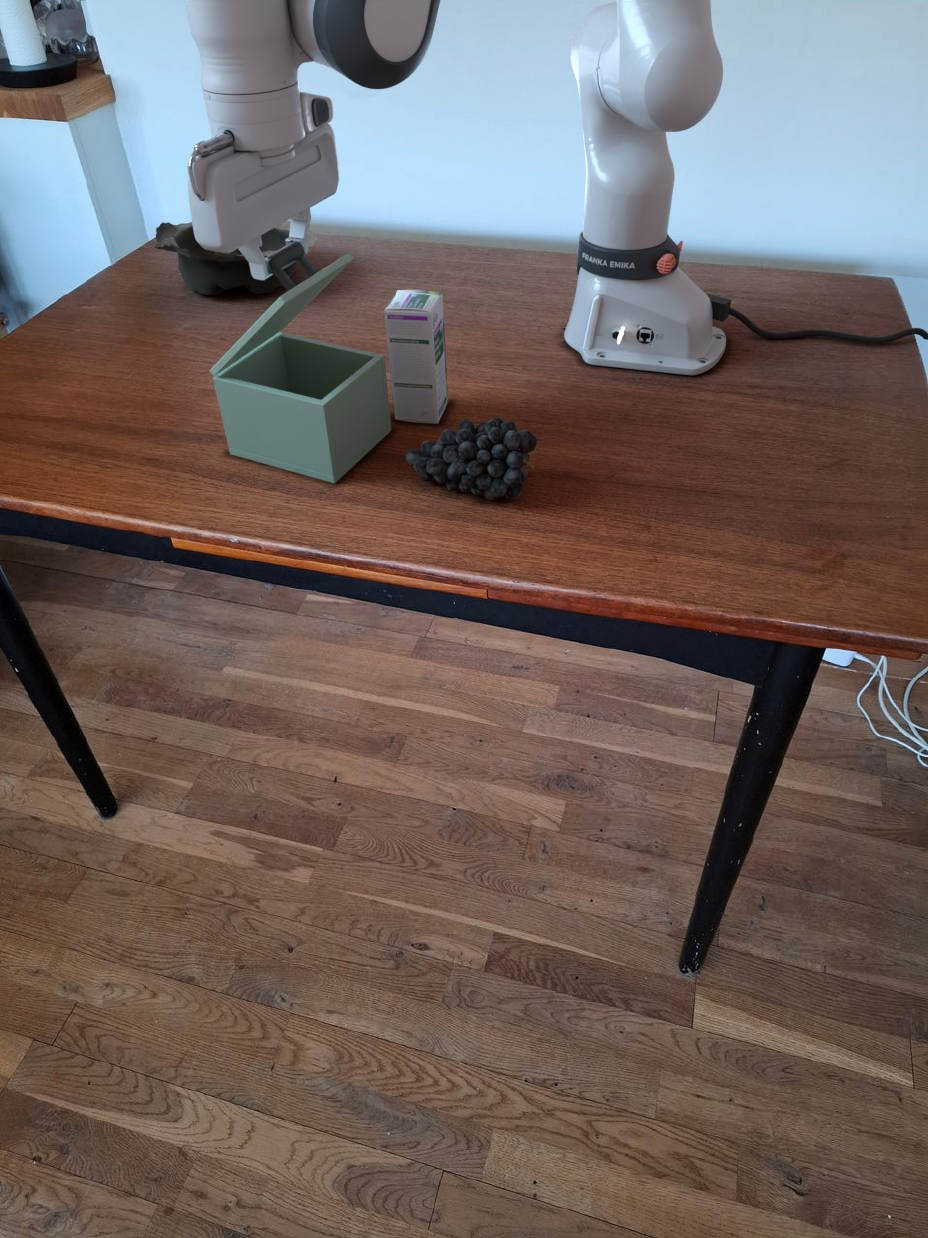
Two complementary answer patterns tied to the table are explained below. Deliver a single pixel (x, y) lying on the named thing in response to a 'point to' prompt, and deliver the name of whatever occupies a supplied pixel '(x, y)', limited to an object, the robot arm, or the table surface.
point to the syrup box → (417, 355)
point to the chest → (304, 405)
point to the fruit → (477, 458)
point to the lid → (283, 301)
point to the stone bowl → (222, 260)
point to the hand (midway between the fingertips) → (281, 265)
